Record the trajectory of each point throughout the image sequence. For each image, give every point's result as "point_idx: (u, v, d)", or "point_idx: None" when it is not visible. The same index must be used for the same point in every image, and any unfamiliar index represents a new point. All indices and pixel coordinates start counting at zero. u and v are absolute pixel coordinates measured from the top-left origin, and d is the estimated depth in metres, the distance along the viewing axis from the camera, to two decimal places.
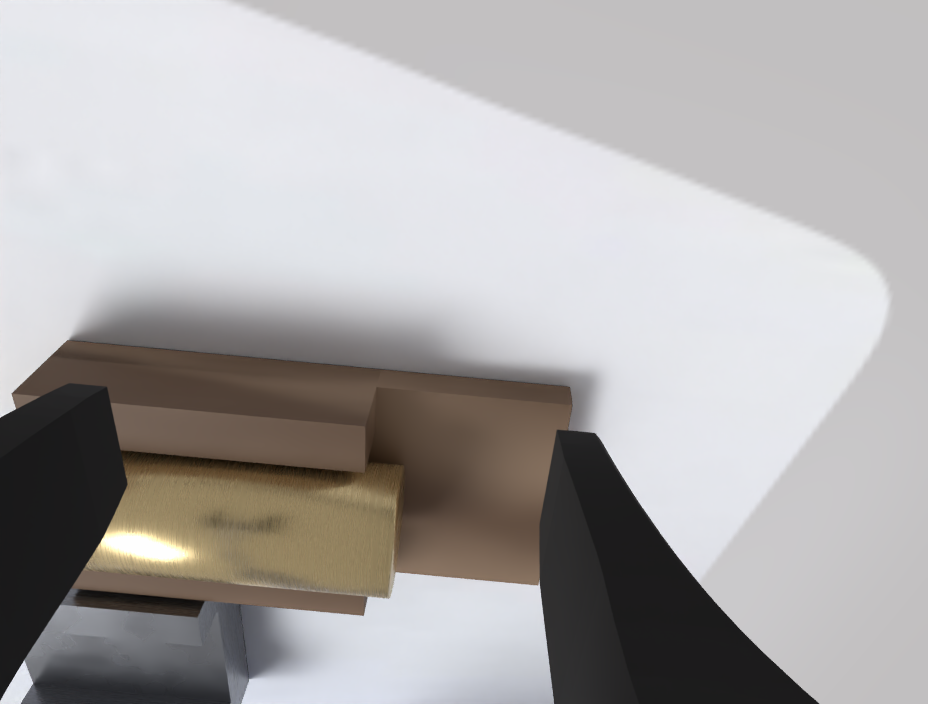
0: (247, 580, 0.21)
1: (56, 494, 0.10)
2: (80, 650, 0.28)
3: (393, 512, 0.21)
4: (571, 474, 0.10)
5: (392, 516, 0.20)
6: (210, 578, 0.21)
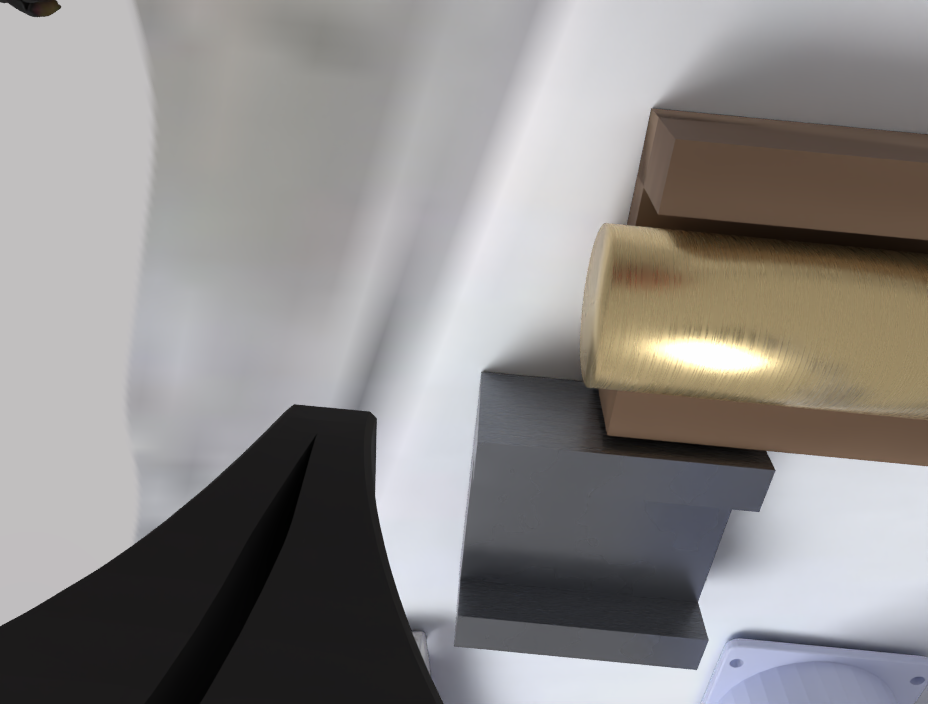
0: None
1: None
2: (540, 533, 0.23)
3: None
4: (313, 449, 0.10)
5: None
6: (889, 405, 0.17)
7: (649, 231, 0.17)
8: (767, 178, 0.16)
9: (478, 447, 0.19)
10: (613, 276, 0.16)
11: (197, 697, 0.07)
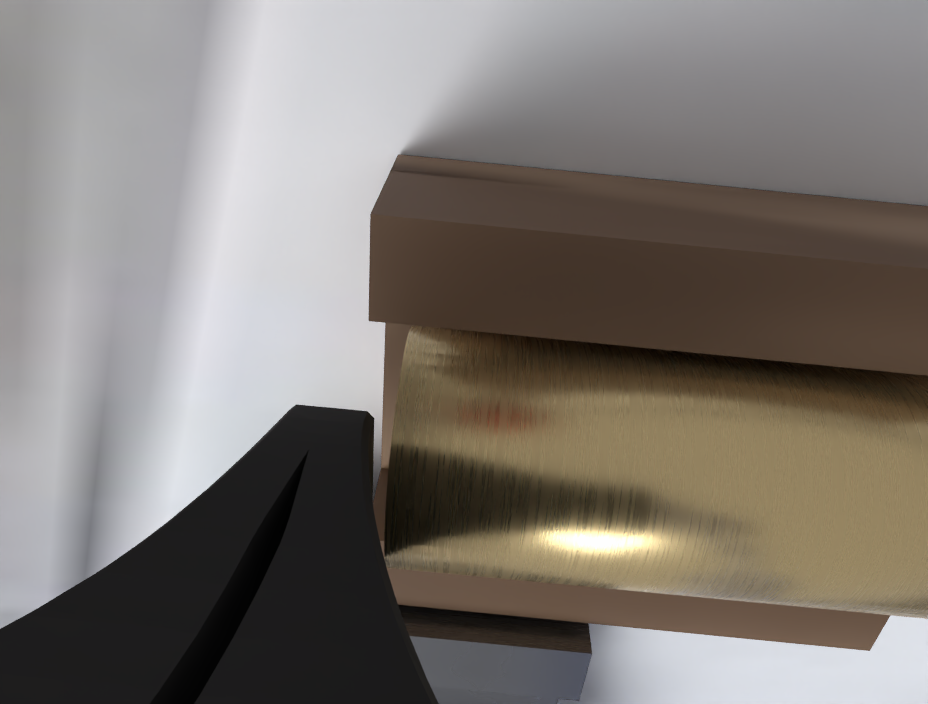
0: (907, 607, 0.11)
1: None
2: None
3: None
4: (310, 449, 0.10)
5: None
6: (830, 602, 0.11)
7: (466, 340, 0.11)
8: (520, 272, 0.10)
9: None
10: (394, 413, 0.10)
11: None
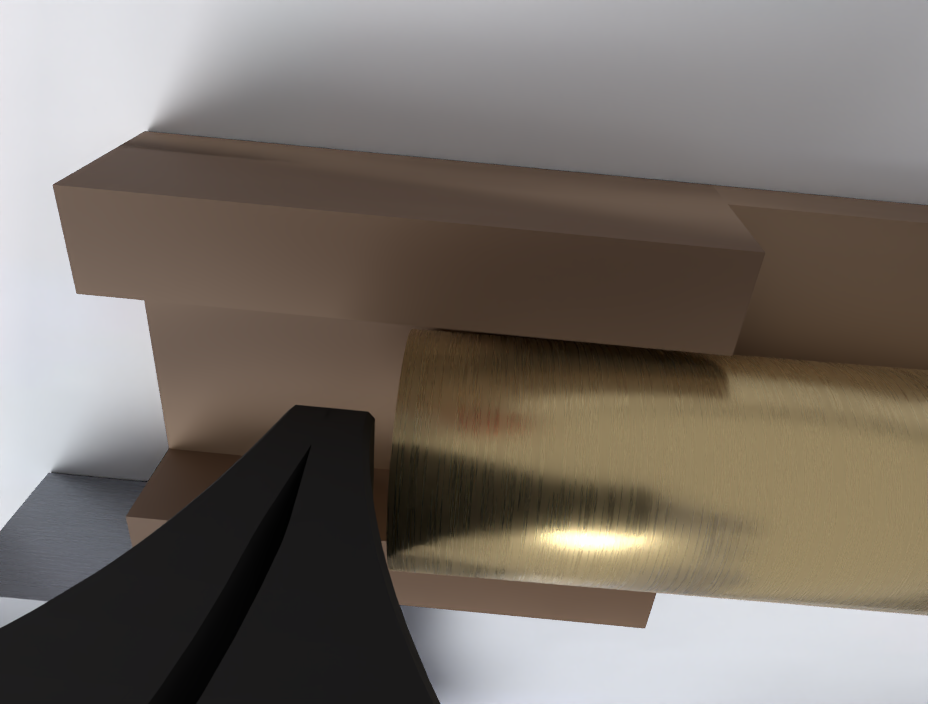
0: (912, 603, 0.11)
1: None
2: None
3: None
4: (311, 449, 0.10)
5: None
6: (834, 599, 0.11)
7: (466, 341, 0.11)
8: (211, 243, 0.10)
9: None
10: None
11: (200, 698, 0.07)
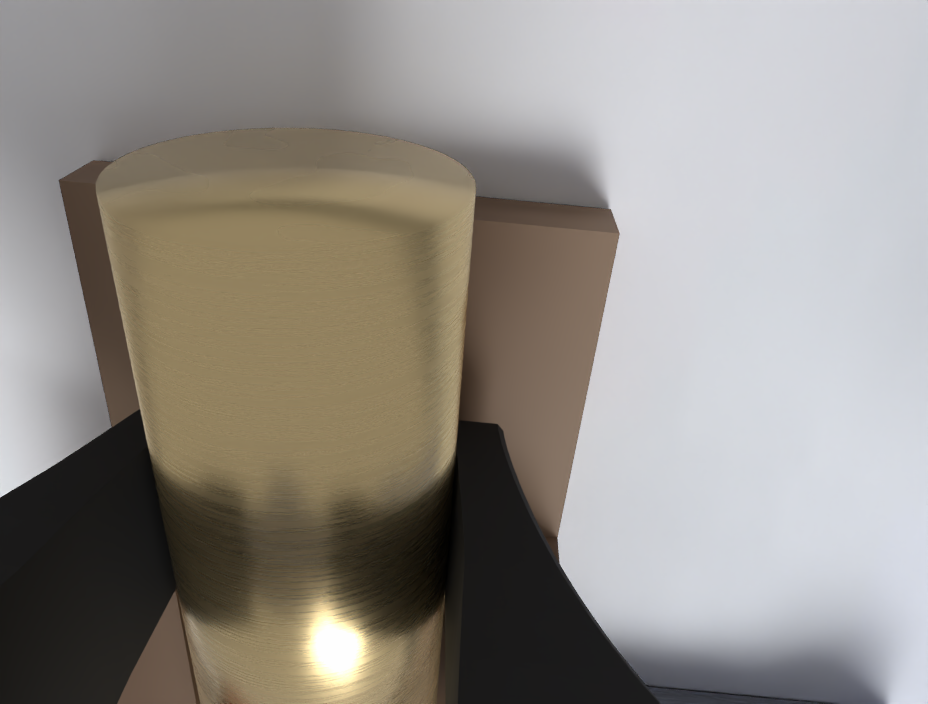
0: (334, 570, 0.08)
1: None
2: None
3: (106, 194, 0.07)
4: (459, 463, 0.10)
5: (100, 200, 0.07)
6: (346, 629, 0.09)
7: None
8: None
9: None
10: None
11: None
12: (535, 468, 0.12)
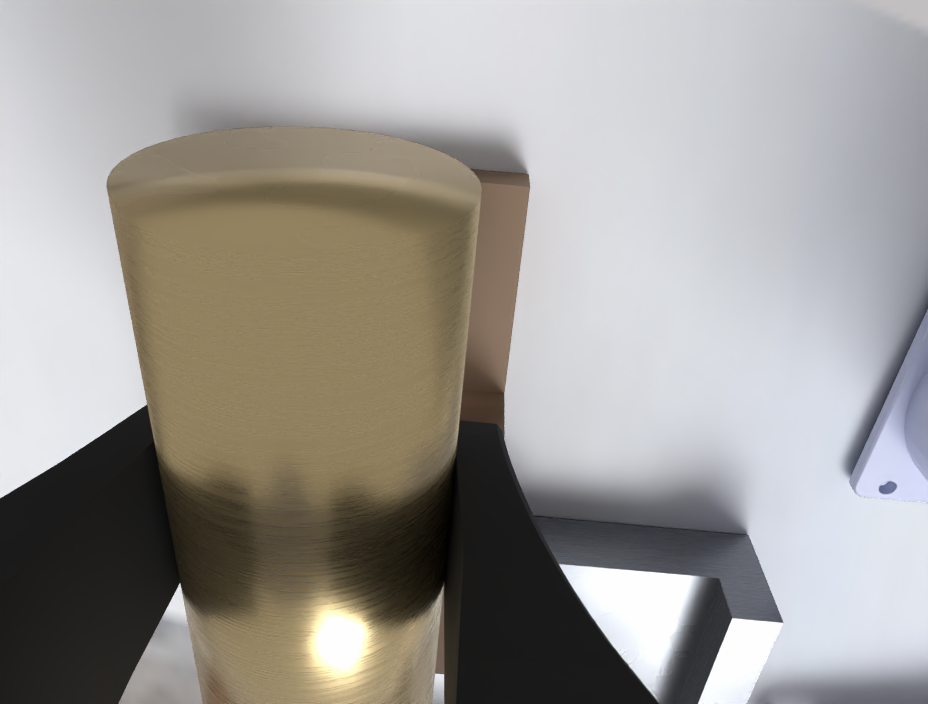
0: (347, 562, 0.09)
1: (164, 504, 0.10)
2: None
3: (119, 197, 0.07)
4: (458, 463, 0.10)
5: (114, 203, 0.07)
6: (357, 619, 0.09)
7: None
8: None
9: None
10: None
11: None
12: (487, 343, 0.20)
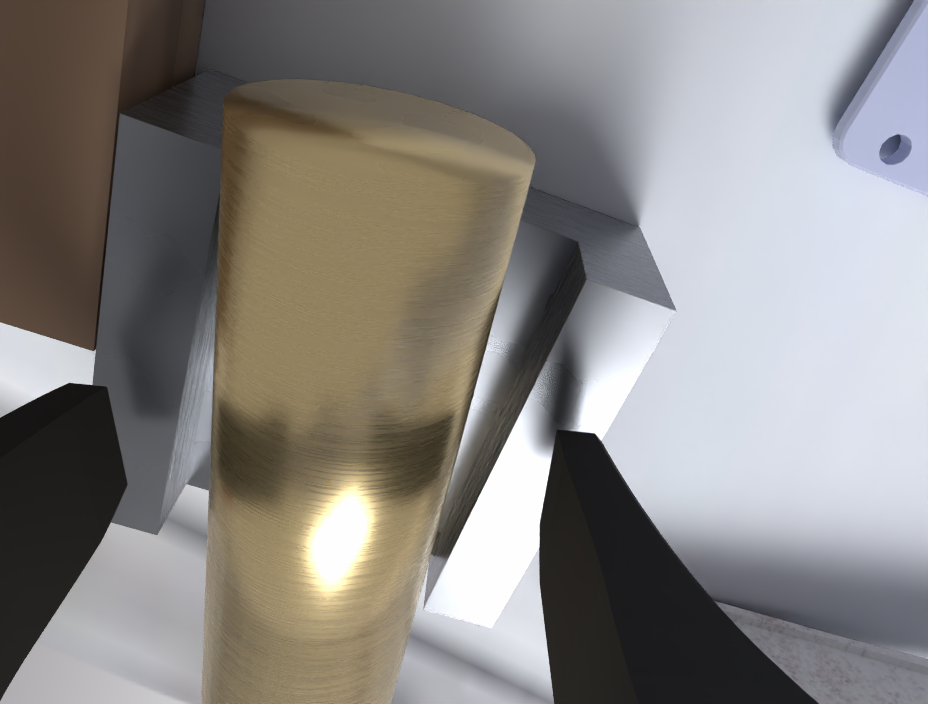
0: (362, 467, 0.10)
1: (56, 494, 0.10)
2: None
3: (233, 112, 0.08)
4: (571, 474, 0.10)
5: (229, 116, 0.08)
6: (360, 524, 0.10)
7: None
8: None
9: None
10: None
11: None
12: None
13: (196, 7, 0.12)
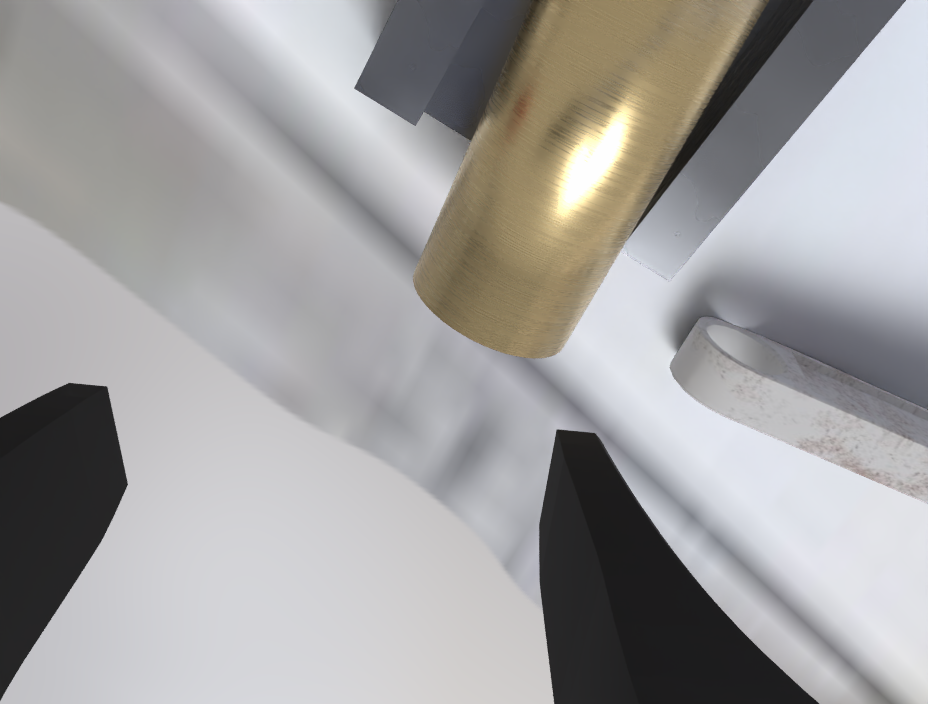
0: None
1: (56, 494, 0.10)
2: None
3: None
4: (571, 474, 0.10)
5: None
6: (686, 53, 0.12)
7: None
8: None
9: (362, 91, 0.15)
10: (423, 301, 0.16)
11: None
12: None
13: None
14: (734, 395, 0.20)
